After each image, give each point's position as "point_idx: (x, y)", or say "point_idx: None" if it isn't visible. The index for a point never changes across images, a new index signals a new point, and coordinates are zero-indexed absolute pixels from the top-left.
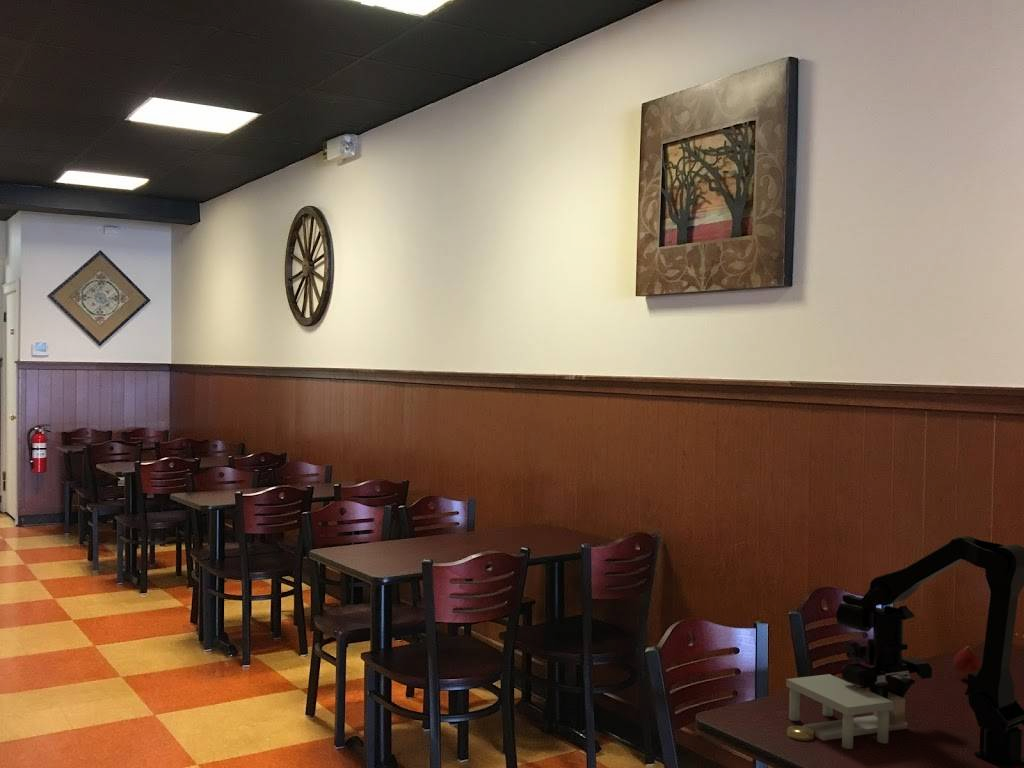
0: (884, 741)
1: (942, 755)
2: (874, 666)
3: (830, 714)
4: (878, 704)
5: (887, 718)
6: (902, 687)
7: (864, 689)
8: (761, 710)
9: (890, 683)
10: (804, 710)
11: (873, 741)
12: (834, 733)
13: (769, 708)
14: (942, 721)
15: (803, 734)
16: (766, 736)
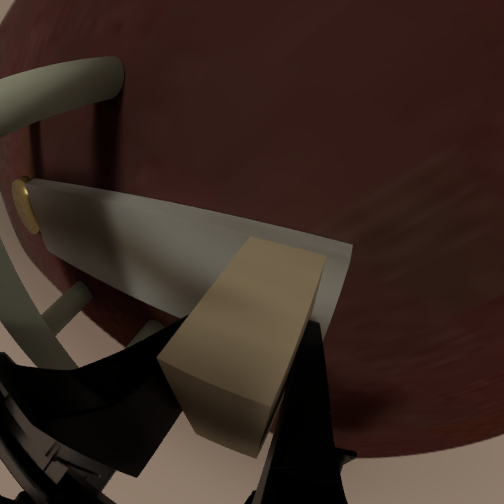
0: None
1: None
2: (26, 499)
3: (101, 100)
4: None
5: None
6: (252, 502)
7: None
8: (18, 32)
9: (259, 495)
10: (75, 21)
11: (140, 314)
12: (62, 258)
13: (31, 14)
14: (492, 373)
15: (26, 226)
16: (6, 179)
